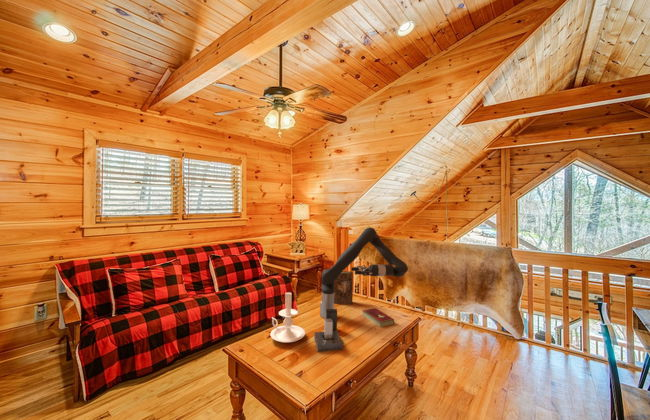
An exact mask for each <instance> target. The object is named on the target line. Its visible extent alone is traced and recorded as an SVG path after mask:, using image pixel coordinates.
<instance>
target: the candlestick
mask: <svg viewBox="0 0 650 420" xmlns="http://www.w3.org/2000/svg"><path fill="white" fill-rule="evenodd" d="M284 294H285V295H284V297H285V298H284V299H285V300H284V301H285V302H284V303H285V305H284V306H285V308H284V309H281V310H280V311H278V315H279V316H281V317H285V318H284V320H283V323H282V325H279V326H278V323H279V321H278V320H277V319H276V318H275V317H273V316H272V317H271V319H272V320H271V324H272V326H273V329H272V330H271V331H270V337H271V338H272V340H274V341H276V342H280V343H282V344H283V343H285V344H286V343H288V344H289V343H294V342H297V341H299V340H301V339H302V338H304V337H305V336H306V331H305V329H304V328H302V327H301V326H298V325H294V320H293V318H292V317H295V316H297V315H298V313H299V311H298V310H297V309H293V308H292V300H293V299H292V297H293V296H292V295H293V294H292V292H285V293H284ZM274 321H275V323H276V324H275V323H274Z"/></svg>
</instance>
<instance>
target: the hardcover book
mask: <svg viewBox="0 0 650 420" xmlns="http://www.w3.org/2000/svg"><path fill="white" fill-rule="evenodd" d="M361 311H362V316H363V317H365V318H366V319H368V320H369V321H371V322H373V323H374V324H375V325H377V326H378V327H379V328H382V327H385V326H390V325H394V324H395V319H394V318H393V317H392V316H390V315H388V314H387V313H384V312H383V311H382V310H380V309H378V308H376V307H371V308H367V309H361Z"/></svg>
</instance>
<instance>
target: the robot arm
mask: <svg viewBox="0 0 650 420" xmlns="http://www.w3.org/2000/svg"><path fill="white" fill-rule="evenodd" d="M368 243H370V244H371V245H372V246H373V247H374V248H375V249H376V250H377V252H378V253H379V254H380V255H381V256H382V258H383V259H384V260H385V261H386V262H387V264H378V263H377V264H369V266H366V265H357V266H356V267H351V269H350V270H351V272H354V275H361V276H363V277H365V276H367V277H369V276H370V277H385V276H387V277H388V276H391V277H396V278H400V277H403V276H405V274H406V273H407V272H408V270H409V267H408V265H407V263H405V261H403V260H402V259H400V258H399V257H397V255H396V254H395V253H394V251H392V250H391V249H390V248H389V247H388V246H387V245H386V244H385V243H384V242H383V241H382V240H381V238H380V237H379V234H378V233H377V231H376V230H375V228H373V227H371V226H370V227H367V228H365V229H363V231H362V233H361V234H360V235H359V236H358V238H356V239H355V241H353V242H352V243H351V244H350V245H349V246H348V247H347V248H346V249H345V250H344V251H343V252H342V253H341V254H340V255H339V257H338V259H337V260H336V262H335V263H334V264H333V265H332V267H331V268H326V269H324V270H323V271H322V273H321V302H319V316H321V317H322V319H326V309H335V303H334V290H335V289H334V281H335V280H336V278H337V277H338V276H339V275H340V273H341V272H342V271H345V270H346V268H348V267H349V266H350V265H351V264H352V263H353V262H355V260H356V259H357V258H358V257H359V255H360V254H361V252H362V250H363V249H364V247H365V246H366V245H367V244H368ZM393 265H394V266H393Z"/></svg>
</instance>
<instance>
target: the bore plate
mask: <svg viewBox="0 0 650 420" xmlns="http://www.w3.org/2000/svg"><path fill="white" fill-rule="evenodd" d="M313 339H314V343H315V347H316V351H317V353H319V352H333V351H343V350H344V349H343V347H344V346H343V344H344V342H343V340H342V338H341V336H340V333H339V331H338V330H337V331H332V340H324V331H315V332H314V338H313Z"/></svg>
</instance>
